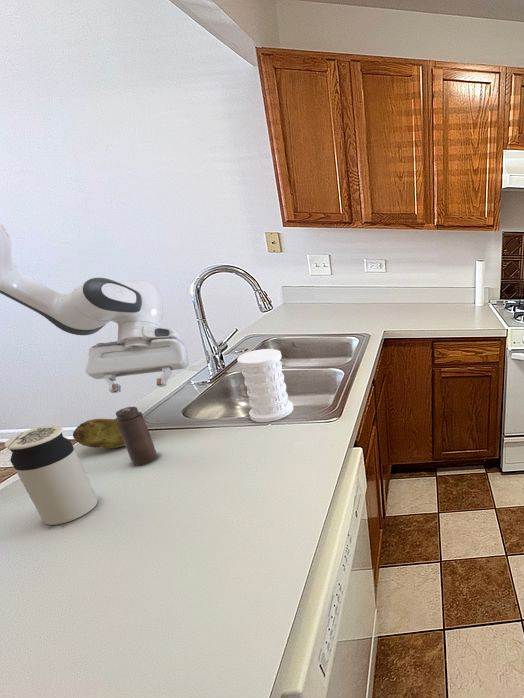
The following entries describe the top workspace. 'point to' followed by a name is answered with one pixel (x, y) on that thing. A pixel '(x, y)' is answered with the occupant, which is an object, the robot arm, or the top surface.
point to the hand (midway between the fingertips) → (138, 388)
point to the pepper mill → (135, 436)
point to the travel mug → (52, 474)
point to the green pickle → (99, 434)
